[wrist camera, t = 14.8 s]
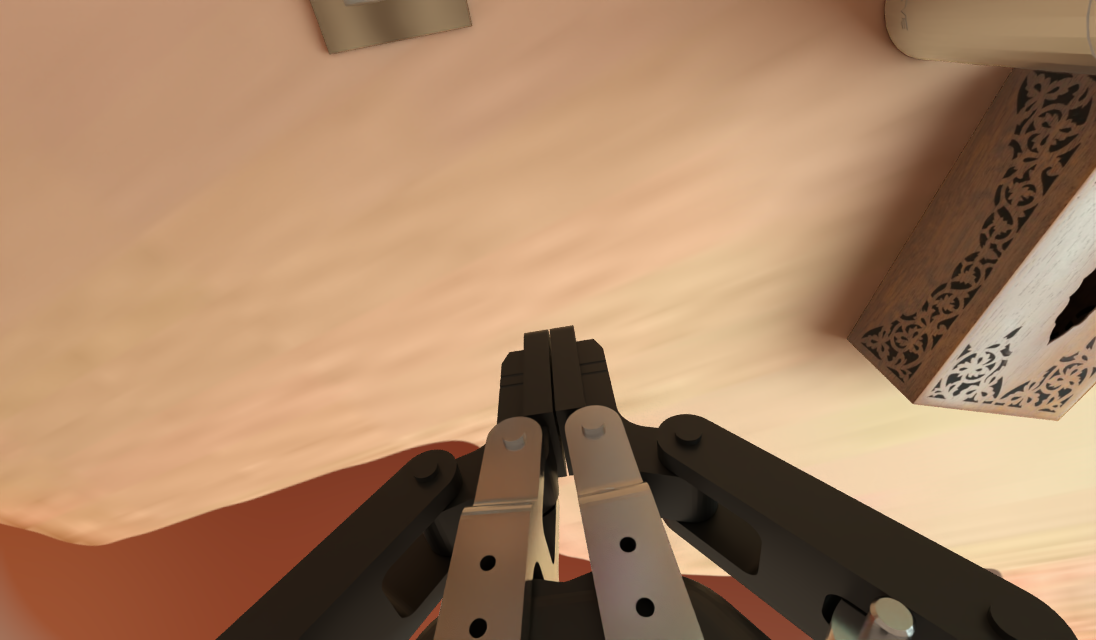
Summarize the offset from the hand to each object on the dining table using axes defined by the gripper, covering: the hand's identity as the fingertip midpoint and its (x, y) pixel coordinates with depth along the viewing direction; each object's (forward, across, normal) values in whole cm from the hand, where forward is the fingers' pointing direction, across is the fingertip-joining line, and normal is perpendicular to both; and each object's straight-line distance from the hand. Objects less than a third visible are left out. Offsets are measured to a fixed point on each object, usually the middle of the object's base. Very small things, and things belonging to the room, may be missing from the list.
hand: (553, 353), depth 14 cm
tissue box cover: (+28, -39, +14) cm, 50 cm away
